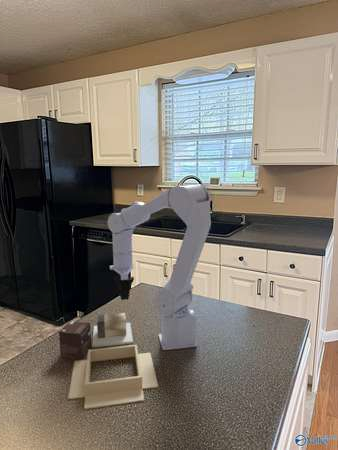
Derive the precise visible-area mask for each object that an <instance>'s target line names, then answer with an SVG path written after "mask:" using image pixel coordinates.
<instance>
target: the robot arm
mask: <svg viewBox="0 0 338 450" xmlns="http://www.w3.org/2000/svg"><path fill="white" fill-rule="evenodd" d="M211 201H212V196H211V195H210V193H209V191H208V190H207V188H206V186H204V185H203V184H200V183H195V184H192V185H176V186H174V187H172V188H168V189H166V190H165V191H163V192H161V193H160V194H158V195H156V196H155V197H154V198H153V197H152V199H150V200H148V201H147V202H142V201H133V202H132V203H131V206H129V207H126V208H122V209H121V211H120V212H117V213H116V212H112V213H111V214H110V215H109V216H108V218H107V226H108V229H109V230H110V232H111V233H112V235H111V236H112V256H113V257H112V258H113V259H112V260H113V265H109V270H111V271H112V270H113V271H114V274H115V275H116V276H114V283H116V285H117V287H118V291H119V296H120V299H121V300H122V301H125V300H129V298H130V293H131V287H132V285H133V282H134V280H135V277H134V276H130V274H131V272H132V270H133V269H134V264H133V239H132V237H133V234H134V229H135V227H136V226H139V225H140V224H143V223H145V222H147V221H149V219H150V218H151V214H155V213H156V212H159V211H161V210H162V209H166V208H168V209H169V208H171V209H172V210H173V211H174V213H175V214H176V215H177V216H178V217H179V218H180V219H181V220H182V221H183V223H184V224H185V225H186V230H185V233H184V236H183V239H182V242H181V245H180V248H179V251H178V253H177V257H176V260H175V264H174V266H173V270H172V273H171V275H170V279H169V280H168V281H167V282H166V283H165V285H164V286H163V287H162V289H161V291H160V292H159V294H158V295H157V296H156V297H155V307H156V309H157V311H158V313H159V315H161V316H160V317H161V321H160V322H161V325H160V326H161V333H159V334H158V338H159V342H160V346H161V349H162V350H163V351H168V350H169V351H170V350H171V351H172V350H179V349H188V348H196V347H197V346H198V344H197V317H196V313H195V311H194V309H189V305H190V304H191V303H192V301H193V289H194V285H193V283H191V282H192V279H193V276H194V275H195V274H194V273H195V270H196V269H197V265H198V263H199V259H200V257H201V255H202V252H203V248H204V246H205V244H206V240H207V237H208V235H209V232H210V230H211V225H212V221H211V219H212V218H211V208H210V205H211Z"/></svg>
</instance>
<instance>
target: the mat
mask: <svg viewBox="0 0 338 450" xmlns="http://www.w3.org/2000/svg"><path fill="white" fill-rule="evenodd" d="M92 332H93V333H92V342H91V349H94V348H102V347H109V346H110V347H112V346H119V345H120V346H122V345H131V344H133V343H134V340H133V333H132V332H133V331H132V325H131V322H130V321H129V322H126V335H125V336H115V337H105V338H98V329H97V325H93V331H92Z"/></svg>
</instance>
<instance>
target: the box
mask: <svg viewBox="0 0 338 450" xmlns="http://www.w3.org/2000/svg"><path fill="white" fill-rule="evenodd" d="M58 337H59V338H58V340H59V352H60V358H62V359H70V360H78V361H81V360H84V358H85V357H86V355H88V350H91V349H92V333H91V323H90V322H82V321H81V322H80V321H74V320H73V321H72V320H71V321H68V323H67V324H65V325H64V326H63V328H61V330H59V331H58Z"/></svg>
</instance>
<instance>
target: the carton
mask: <svg viewBox="0 0 338 450" xmlns="http://www.w3.org/2000/svg"><path fill="white" fill-rule="evenodd" d="M138 350H139V349H138V344H127V345H120V346H119V345H118V346H110V347H104V348H102V347H100V348H91V349H90V350H88V353H87V359H82V360H75V361H73V367H72V373H71V379H70V380H71V381H70V385H69V392H68V398H67V399H68V400H75V399H82V398H84V404H83V405H84V406H83V407H84V408H83V409H84V410H90V409H96V408H103V407H104V408H105V407H110V406H117V405H123V404H124V405H125V404H130V403H138V402H144V401H145V396H144V391H143V390H148V389H156V388H159V384H158V380H157V376H156V370H155V367H154V362H153V359H152V358H153V357H152V355H151V352H143V353H139V351H138ZM125 358H135V359H134V360H135V364H136V365H135V366H136V373H137V375H134V376H127V377H119V378H113V379H105V380H104V379H103V380H96V381H91V369H92V367H91V366H92V362H93V363H94V362H102V361H109V360H118V359H125Z"/></svg>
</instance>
